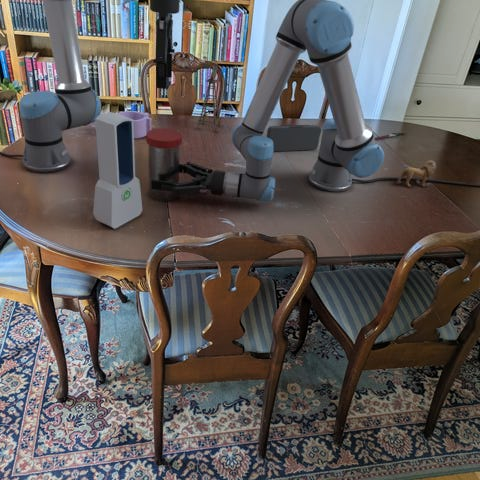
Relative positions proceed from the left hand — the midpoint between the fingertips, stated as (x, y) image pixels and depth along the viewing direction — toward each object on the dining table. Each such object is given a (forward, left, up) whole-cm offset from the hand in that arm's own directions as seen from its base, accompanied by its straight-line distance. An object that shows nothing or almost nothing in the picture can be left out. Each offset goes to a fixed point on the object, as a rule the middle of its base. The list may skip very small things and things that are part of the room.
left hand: (164, 82), depth 130 cm
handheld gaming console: (+39, +53, -35) cm, 75 cm away
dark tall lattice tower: (+2, +66, -35) cm, 75 cm away
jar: (0, 0, -35) cm, 35 cm away
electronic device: (-8, -18, -35) cm, 40 cm away
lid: (0, 0, -16) cm, 16 cm away
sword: (+82, +82, -35) cm, 121 cm away
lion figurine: (+86, +35, -35) cm, 99 cm away
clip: (-28, +47, -35) cm, 65 cm away
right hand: (-2, 0, -28) cm, 29 cm away
